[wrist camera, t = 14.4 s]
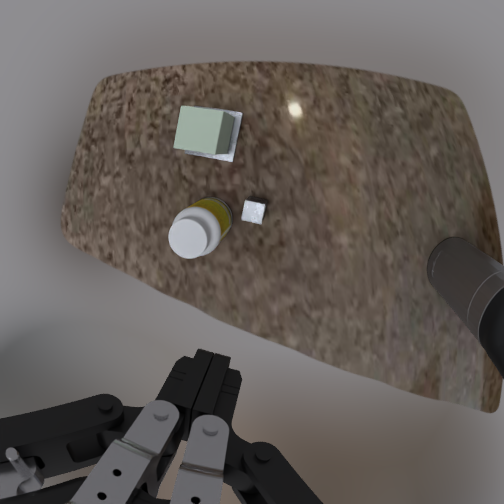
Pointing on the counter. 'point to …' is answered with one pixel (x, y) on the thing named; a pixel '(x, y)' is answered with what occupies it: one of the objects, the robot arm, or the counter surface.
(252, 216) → the short post
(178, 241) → the pill bottle
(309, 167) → the counter surface
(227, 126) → the pale green block
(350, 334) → the counter surface
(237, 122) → the post on square base
